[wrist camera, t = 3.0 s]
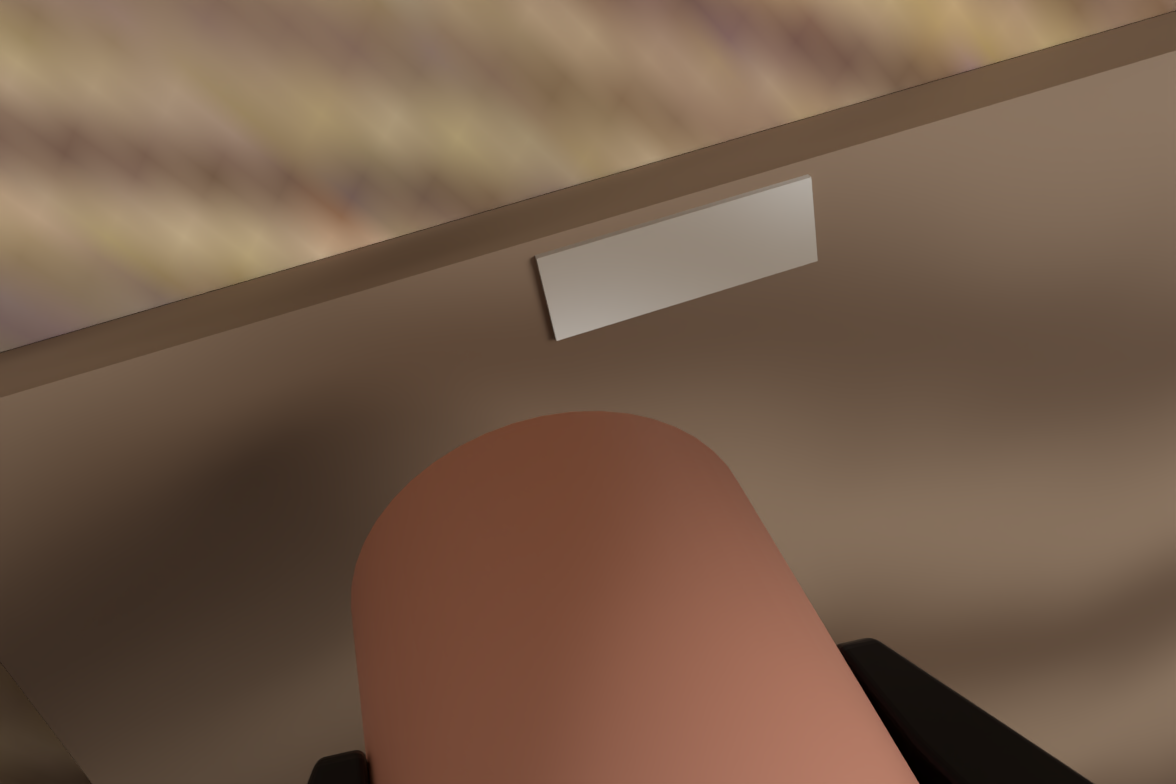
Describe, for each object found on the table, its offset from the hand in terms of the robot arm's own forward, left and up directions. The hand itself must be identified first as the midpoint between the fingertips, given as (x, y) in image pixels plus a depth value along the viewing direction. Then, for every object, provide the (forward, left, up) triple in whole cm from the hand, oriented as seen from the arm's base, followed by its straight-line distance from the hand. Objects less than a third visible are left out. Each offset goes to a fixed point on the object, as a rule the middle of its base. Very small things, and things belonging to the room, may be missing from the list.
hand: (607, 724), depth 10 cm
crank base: (-8, -3, -6) cm, 10 cm away
